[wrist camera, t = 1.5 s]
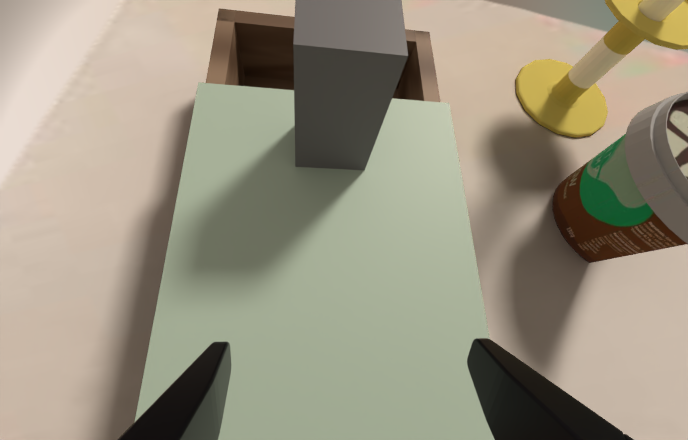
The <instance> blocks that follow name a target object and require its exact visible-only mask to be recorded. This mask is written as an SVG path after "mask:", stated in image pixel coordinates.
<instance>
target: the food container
mask: <svg viewBox="0 0 688 440" xmlns="http://www.w3.org/2000/svg"><path fill="white" fill-rule="evenodd" d="M553 212H554V217H555V220H556V223H557V226H558V228H559V230H560V231H561V233H562V235H563V237H564V238H565V239H566V241H567V242H568V243H569V245H570V246H571V247H572V248H573V249H574V250H575V251H576V252H577V253H578V254H579V255H580V256H581V257H583V258H584V259H585V260H587V261H588V262H589V263H591V262H596V261H602V260H607V259H612V258H617V257H622V256H627V255H633V254H638V253H643V252H648V251H653V250H659V249H664V248H669V247H674V246H679V245H685V244H688V92H686V93H681V94H677V95H674V96H671V97H669V98H667V99H664V100H662V101H660V102H658V103H656V104H653V105H651V106H649V107H647V108H645V109H643V110H642V111H640V112H639V113H638V114H637V115H636V116H635V117H634V118H633V119H632V120H631V122H630V124H629V126H628V128H627V132H626V134H625V135H624V136H622V137H621V138H620V139H618V140H617V141H616V142H614V143H613V144H612V145H610V146H609V147H607V148H606V149H605V150H603V151H602V152H601V153H599V154H598V155H597V156H595V157H594V158H593V159H591V160H590V161H589V162H587V163H586V164H585V165H583V166H582V167H581V168H579V169H578V170H577V171H575V172H574V173H573V174H571V175H570V176H568V177H567V178H566V179H565V180H564V181H562V182H561V183H560V184H559V185H558V187H557V189H556V191H555V193H554V197H553Z"/></svg>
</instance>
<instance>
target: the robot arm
mask: <svg viewBox="0 0 688 440" xmlns="http://www.w3.org/2000/svg"><path fill="white" fill-rule="evenodd" d="M467 366H468V369H469V372H470V375H471V378H472V381H473V384H474V387H475V390H476V393H477V396H478V399H479V402H480V404H481V407H482V410H483V413H484V416H485V418H486V421H487V423H488V426H489V428H490V430H491V433H492V435H493V437H494V439H495V440H633V439H632V438H631V437H629V436H628V435H626V434H623V432H622V431H620V430H619V429H618V428H616V427H615V426H613V425H612V424H610V423H609V422H608V421H606V420H605V419H603V418H602V417H600V416H599V415H598V414H596V413H595V412H593V411H592V410H590V409H589V408H588V407H586V406H585V405H583V404H582V403H580V402H579V401H578V400H576V399H575V398H573V397H572V396H570V395H569V394H568V393H566V392H565V391H563V390H562V389H560V388H559V387H558V386H556V385H555V384H553V383H552V382H550V381H549V380H548V379H546V378H545V377H543V376H542V375H540V374H539V373H538V372H536V371H535V370H533V369H532V368H530V367H529V366H528V365H526V364H525V363H523V362H522V361H520V360H519V359H518V358H516V357H515V356H513V355H512V354H510V353H509V352H507V351H506V350H505V349H503V348H502V347H500V346H499V345H497V344H496V343H495V342H493V341H492V340H490V339H488V338H476V339H474V340H473V342H472V345H471V348H470V351H469V355H468V358H467ZM230 375H231V351H230V344H229V342H213V343H212V344H211V345H210V346H209V347H208V348H207V349H206V350H205V351H204V352H203V353H202V354H201V355H200V356H199V357H198V358H197V359H196V360H195V361H194V362H193V363H192V364H191V365H190V366H189V367H188V368H187V369H186V370H185V371H184V372H183V373H182V374H181V375H180V376H179V377H178V378H177V379H176V380H175V381H174V382H173V383H172V384H171V385H170V387H169V388H168V389H167V390H166V391H165V392H164V393H163V394H162V395H161V396H160V397H159V398H158V399H157V400H156V401H155V402H154V403H153V404H152V405H151V406H150V407H149V408H148V409H147V410H146V411H145V412H144V413H143V414H142V415H141V416H140V417H139V418H138V419H137V420H136V421H135V422H134V423H133V424H132V425H131V426H130V427H129V428H128V429H127V431H126V432H125V433H124V434H123V435H122V436H121V437H120V438H119V439H118V440H218V438H219V434H220V429H221V424H222V419H223V413H224V408H225V402H226V397H227V391H228V386H229V380H230Z"/></svg>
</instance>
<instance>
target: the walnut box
mask: <svg viewBox="0 0 688 440" xmlns="http://www.w3.org/2000/svg"><path fill="white" fill-rule="evenodd" d="M294 23H295V17H290V16H281V15H272V14H263V13H254V12H245V11H236V10H227V9H219V11H218V17H217V23H216V28H215V34H214V39H213V45H212V51H211V56H210V62H209V68H208V73H207V79H206V83H211V84H224V85H236V86H248V87H260V88H272V89H284V90H294V53H293V42H294ZM405 34H406V42H407V50H408V58H407V60H406V63H405V66H404V68H403V71H402V73H401V76H400V79H399V81H398V84H397V87H396V89H395V92H394V95H393V97H392V98H394V99H406V100H418V101H430V102H440V96H439V90H438V84H437V78H436V71H435V65H434V59H433V53H432V46H431V40H430V34H429V32H424V31H415V30H406V29H405Z"/></svg>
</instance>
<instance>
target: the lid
mask: <svg viewBox="0 0 688 440" xmlns="http://www.w3.org/2000/svg"><path fill="white" fill-rule="evenodd" d="M293 53H294V90H284V89H272V88H260V87H248V86H236V85H224V84H211V83H198V88H197V93H196V99H195V104H194V109H193V114H192V120H191V125H190V130H189V136H188V141H187V146H186V152H185V157H184V162H183V168H182V173H181V178H180V183H179V189H178V194H177V199H176V205H175V210H174V215H173V221H172V226H171V231H170V236H169V242H168V247H167V252H166V258H165V263H164V268H163V274H162V279H161V284H160V289H159V295H158V300H157V305H156V311H155V316H154V321H153V327H152V332H151V337H150V343H149V348H148V353H147V358H146V364H145V369H144V374H143V380H142V385H141V390H140V396H139V401H138V406H137V411H136V417H135V421H136V420H137V419H138V418H139V417H140V416H141V415H142V414H143V413H144V412H145V411H146V410H147V409H148V408H149V407H150V406H151V405H152V404H153V403H154V402H155V401H156V400H157V399H158V398H159V397H160V396H161V395H162V394H163V393H164V392H165V391H166V390H167V389H168V388H169V387H170V385H171V384H172V383H173V382H174V381H175V380H176V379H177V378H178V377H179V376H180V375H181V374H182V373H183V372H184V371H185V370H186V369H187V368H188V367H189V366H190V365H191V364H192V363H193V362H194V361H195V360H196V359H197V358H198V357H199V356H200V355H201V354H202V353H203V352H204V351H205V350H206V349H207V348H208V347H209V346H210V345H211V344H212V343H213V342H229V344H230V351H231V375H230V380H229V386H228V391H227V397H226V402H225V408H224V413H223V419H222V424H221V429H220V434H219V438H218V440H495V439H494V437H493V435H492V433H491V430H490V428H489V426H488V423H487V421H486V418H485V416H484V413H483V410H482V407H481V404H480V402H479V399H478V396H477V393H476V390H475V387H474V384H473V381H472V378H471V375H470V372H469V369H468V366H467V358H468V355H469V351H470V348H471V345H472V342H473V340H474V339H476V338H488V339H490V337H489V331H488V326H487V320H486V314H485V308H484V302H483V296H482V291H481V285H480V279H479V273H478V267H477V262H476V256H475V250H474V244H473V238H472V233H471V227H470V221H469V215H468V209H467V204H466V198H465V192H464V186H463V180H462V175H461V169H460V163H459V157H458V151H457V146H456V140H455V134H454V128H453V122H452V117H451V111H450V105H449V103H442V102H430V101H418V100H406V99H394V98H392V97H393V95H394V92H395V89H396V87H397V84H398V81H399V79H400V76H401V73H402V71H403V68H404V66H405V63H406V60H407V58H408V50H407V42H406V34H405V26H404V18H403V9H402V1H401V0H296V4H295V23H294V42H293Z"/></svg>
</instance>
